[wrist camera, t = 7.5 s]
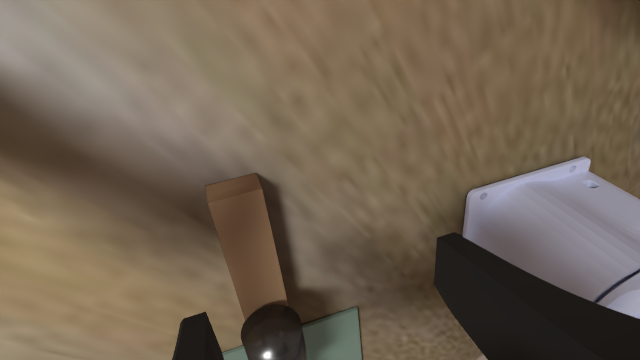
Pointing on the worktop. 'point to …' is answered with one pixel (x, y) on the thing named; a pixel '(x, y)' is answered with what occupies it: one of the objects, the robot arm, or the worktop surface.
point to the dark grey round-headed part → (274, 334)
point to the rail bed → (247, 241)
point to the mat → (324, 338)
